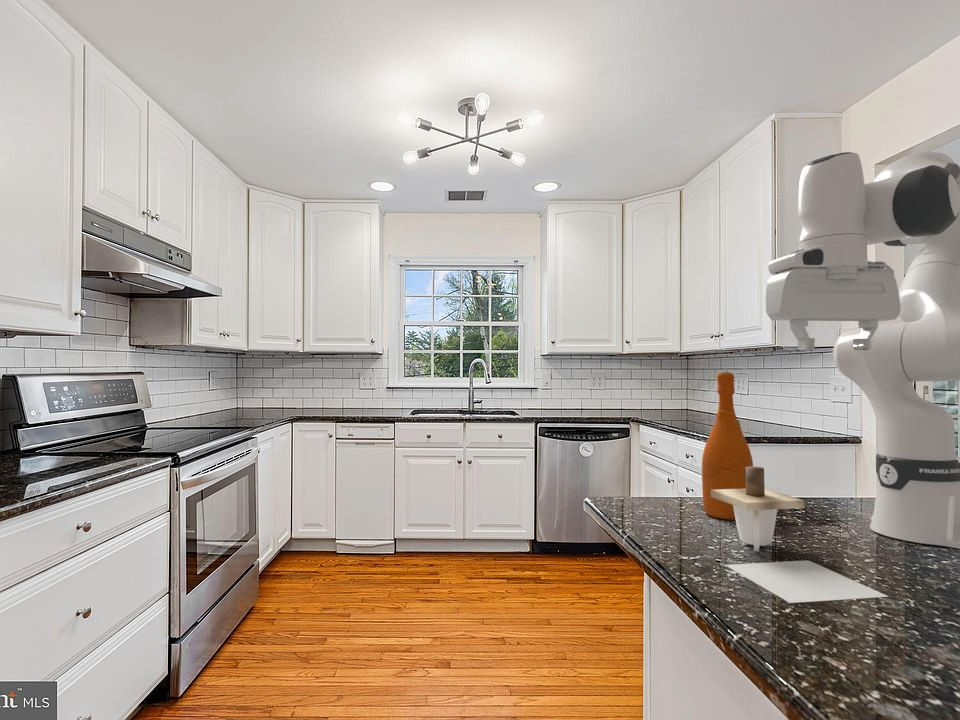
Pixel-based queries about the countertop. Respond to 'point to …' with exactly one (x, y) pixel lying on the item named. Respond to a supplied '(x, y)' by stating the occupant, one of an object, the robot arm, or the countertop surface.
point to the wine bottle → (724, 453)
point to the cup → (755, 526)
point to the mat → (804, 581)
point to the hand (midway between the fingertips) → (834, 350)
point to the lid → (756, 494)
